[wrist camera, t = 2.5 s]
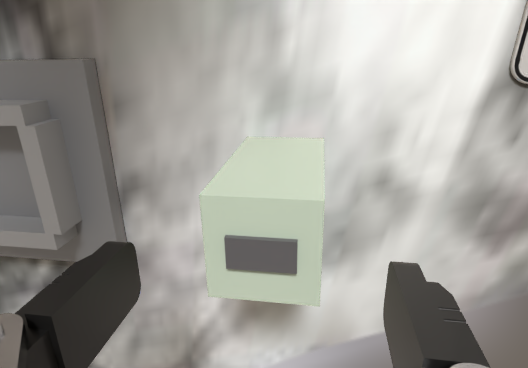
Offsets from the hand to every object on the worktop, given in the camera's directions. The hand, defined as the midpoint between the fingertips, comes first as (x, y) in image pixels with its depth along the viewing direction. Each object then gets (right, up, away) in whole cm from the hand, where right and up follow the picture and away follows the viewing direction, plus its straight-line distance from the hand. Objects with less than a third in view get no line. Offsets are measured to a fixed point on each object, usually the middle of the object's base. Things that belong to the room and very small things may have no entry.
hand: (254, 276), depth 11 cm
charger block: (+1, +3, +8) cm, 9 cm away
